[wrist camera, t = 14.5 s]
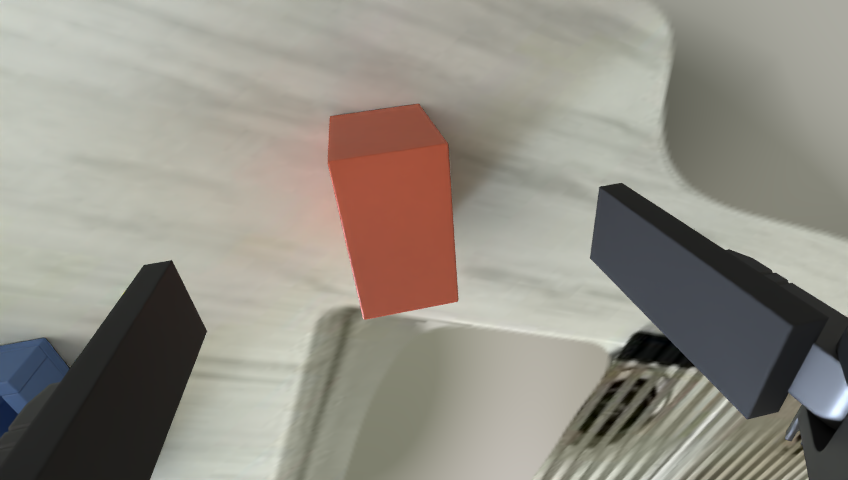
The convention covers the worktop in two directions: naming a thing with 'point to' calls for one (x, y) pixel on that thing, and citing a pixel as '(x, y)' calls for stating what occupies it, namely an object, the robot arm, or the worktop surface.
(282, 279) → the worktop surface
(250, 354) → the worktop surface
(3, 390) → the tray blue
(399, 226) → the rust bar
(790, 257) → the worktop surface
